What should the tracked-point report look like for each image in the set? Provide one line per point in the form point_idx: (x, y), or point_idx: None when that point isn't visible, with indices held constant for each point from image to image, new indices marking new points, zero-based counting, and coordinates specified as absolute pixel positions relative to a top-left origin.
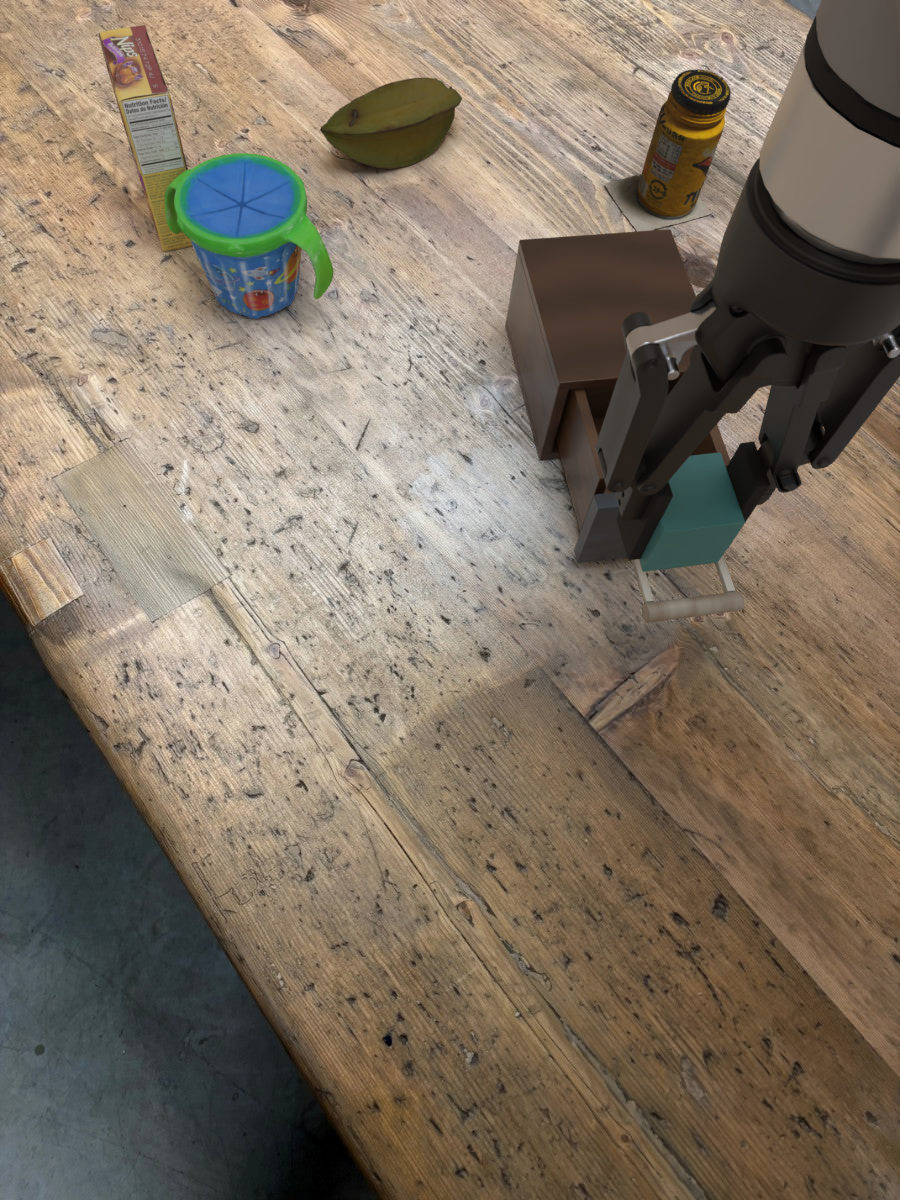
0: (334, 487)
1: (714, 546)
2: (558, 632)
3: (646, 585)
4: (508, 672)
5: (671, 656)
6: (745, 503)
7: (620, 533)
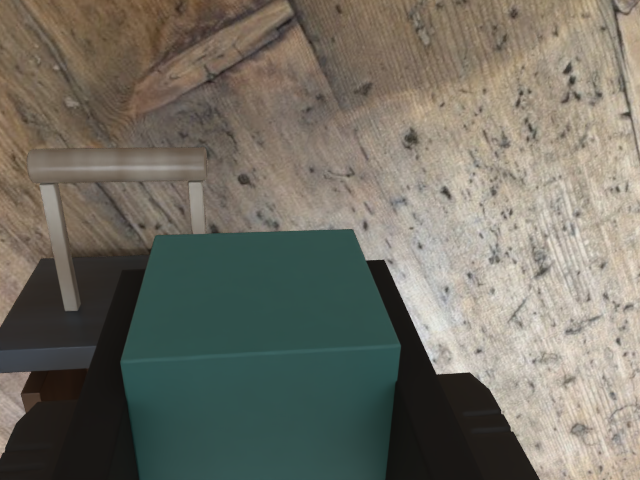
0: (519, 363)
1: (192, 281)
2: (303, 158)
3: (196, 208)
4: (387, 108)
5: (142, 100)
6: (118, 429)
7: None
